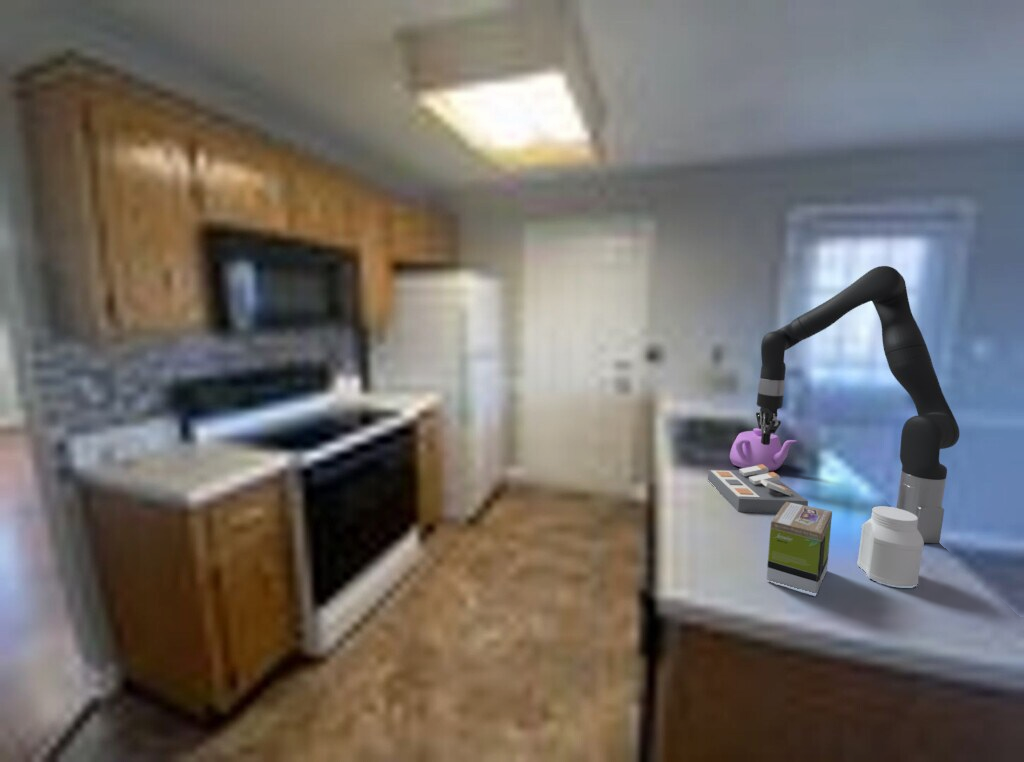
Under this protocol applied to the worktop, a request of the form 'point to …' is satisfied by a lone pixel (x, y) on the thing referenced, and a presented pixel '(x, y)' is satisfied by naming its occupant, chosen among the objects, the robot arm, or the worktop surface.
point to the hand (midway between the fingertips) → (765, 444)
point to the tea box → (799, 546)
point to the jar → (891, 547)
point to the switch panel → (751, 492)
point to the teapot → (758, 450)
